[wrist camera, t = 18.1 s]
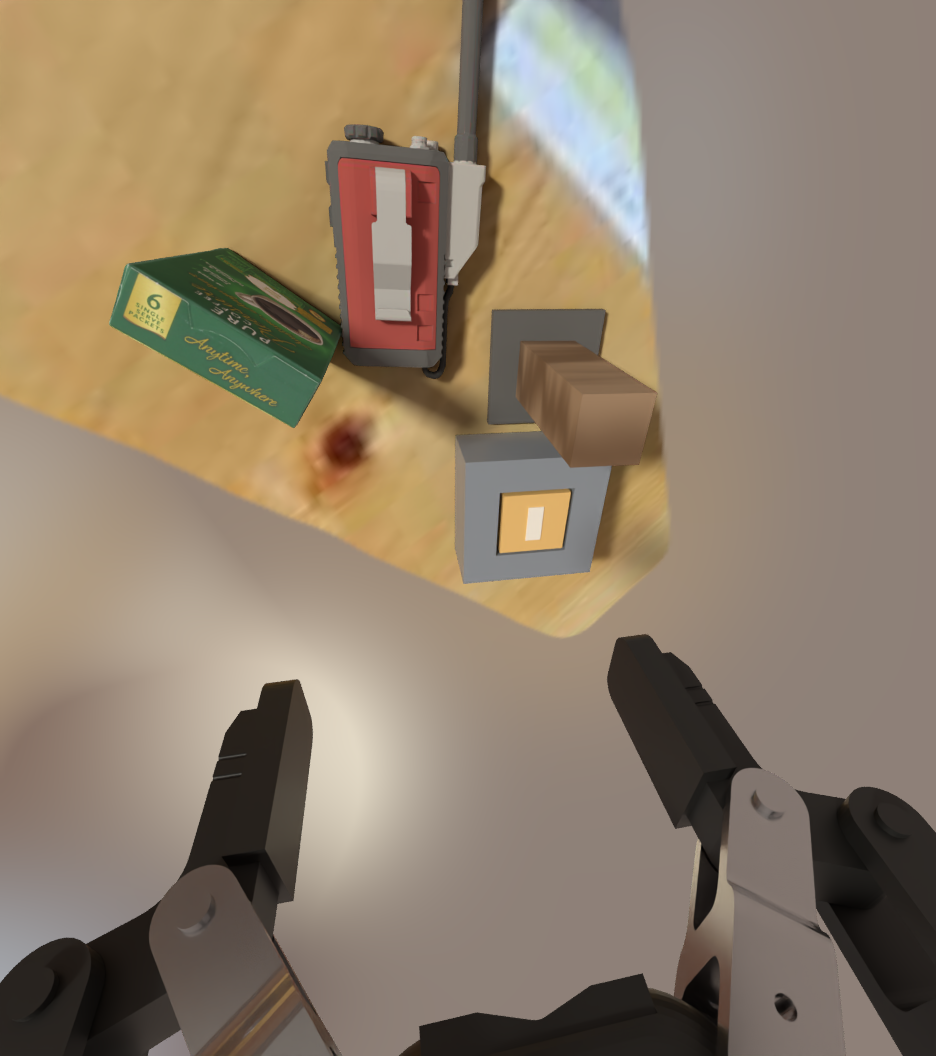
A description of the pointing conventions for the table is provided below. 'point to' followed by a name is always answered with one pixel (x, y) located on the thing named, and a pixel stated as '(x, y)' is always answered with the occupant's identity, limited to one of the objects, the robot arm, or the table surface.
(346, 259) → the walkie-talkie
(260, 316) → the coffee box
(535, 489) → the box
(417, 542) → the table surface
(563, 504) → the button
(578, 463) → the tall cardboard-brown rectangular prism
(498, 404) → the mat
